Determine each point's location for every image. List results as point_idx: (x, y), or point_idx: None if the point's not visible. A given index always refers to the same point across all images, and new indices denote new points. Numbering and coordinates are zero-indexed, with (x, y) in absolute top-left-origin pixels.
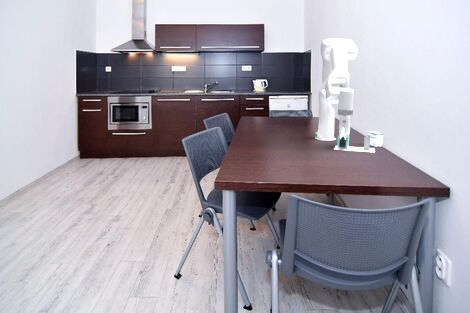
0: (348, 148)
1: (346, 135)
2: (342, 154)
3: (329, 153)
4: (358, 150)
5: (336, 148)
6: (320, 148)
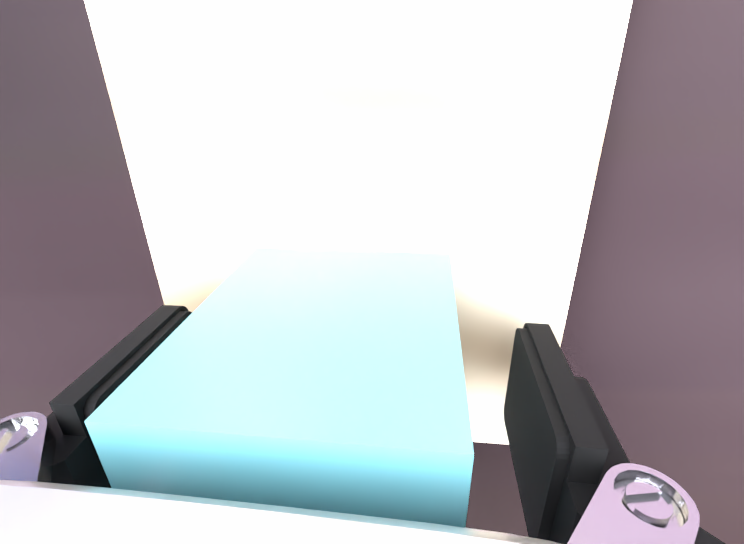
0: (355, 242)
1: (190, 493)
2: (673, 304)
3: None
4: (522, 19)
5: None
6: None
